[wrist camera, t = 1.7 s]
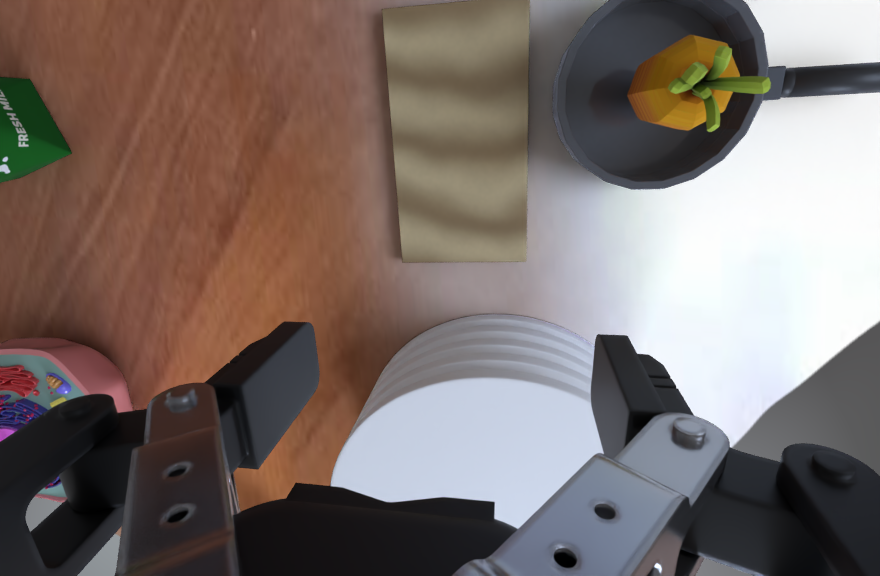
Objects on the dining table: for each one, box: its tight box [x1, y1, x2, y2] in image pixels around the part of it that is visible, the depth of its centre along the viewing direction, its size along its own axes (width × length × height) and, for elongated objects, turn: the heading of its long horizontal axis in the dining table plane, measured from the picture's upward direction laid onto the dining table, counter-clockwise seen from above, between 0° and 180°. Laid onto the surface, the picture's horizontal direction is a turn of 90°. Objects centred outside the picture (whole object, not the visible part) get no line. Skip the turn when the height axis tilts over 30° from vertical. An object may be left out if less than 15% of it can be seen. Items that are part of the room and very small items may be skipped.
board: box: [382, 0, 530, 263], centre depth 38 cm, size 20×11×1 cm, turn 3°
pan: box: [553, 0, 769, 190], centre depth 33 cm, size 13×13×4 cm
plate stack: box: [330, 314, 604, 529], centre depth 42 cm, size 28×28×12 cm
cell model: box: [0, 338, 133, 502], centre depth 48 cm, size 17×20×11 cm
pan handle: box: [762, 62, 880, 101], centre depth 30 cm, size 11×2×2 cm, turn 93°
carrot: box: [627, 35, 771, 132], centre depth 28 cm, size 5×5×15 cm
